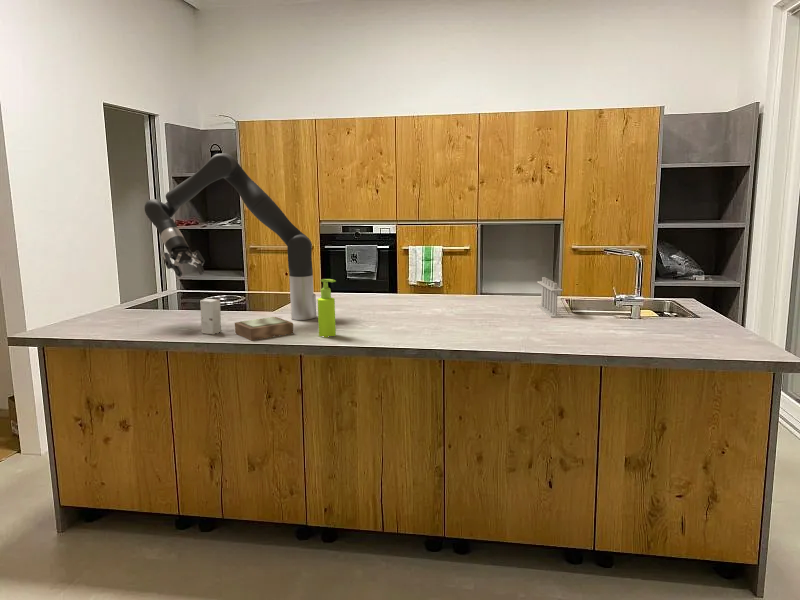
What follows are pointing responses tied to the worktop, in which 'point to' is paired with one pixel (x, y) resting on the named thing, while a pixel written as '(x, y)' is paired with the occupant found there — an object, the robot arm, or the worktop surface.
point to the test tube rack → (549, 298)
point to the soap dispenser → (326, 311)
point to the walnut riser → (263, 328)
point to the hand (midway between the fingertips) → (191, 274)
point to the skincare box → (210, 316)
